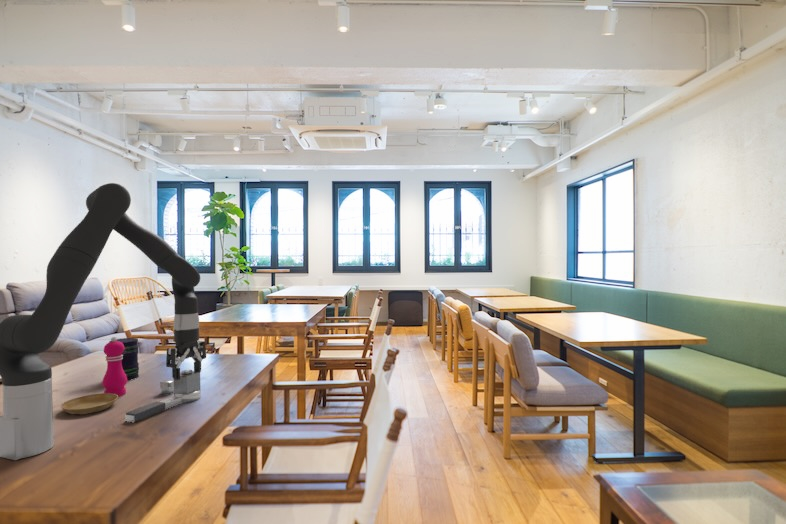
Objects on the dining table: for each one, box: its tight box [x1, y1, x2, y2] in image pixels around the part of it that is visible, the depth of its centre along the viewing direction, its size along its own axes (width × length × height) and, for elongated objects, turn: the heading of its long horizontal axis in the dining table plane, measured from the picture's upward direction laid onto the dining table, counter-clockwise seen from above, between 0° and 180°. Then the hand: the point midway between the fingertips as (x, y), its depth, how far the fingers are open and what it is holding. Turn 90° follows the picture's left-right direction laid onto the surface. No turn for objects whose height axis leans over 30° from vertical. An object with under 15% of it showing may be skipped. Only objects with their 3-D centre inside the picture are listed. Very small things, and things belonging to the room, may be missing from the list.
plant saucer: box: [60, 392, 119, 415], centre depth 134 cm, size 15×15×3 cm
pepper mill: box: [101, 336, 128, 397], centre depth 147 cm, size 7×7×20 cm
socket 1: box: [159, 379, 174, 396], centre depth 148 cm, size 4×4×4 cm
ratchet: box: [124, 388, 202, 424], centre depth 134 cm, size 25×8×6 cm, turn 160°
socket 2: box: [173, 369, 201, 395], centre depth 142 cm, size 6×6×7 cm
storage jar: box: [108, 337, 140, 381], centre depth 168 cm, size 10×10×15 cm
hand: (187, 376), depth 141 cm, fingers open, 8 cm apart
